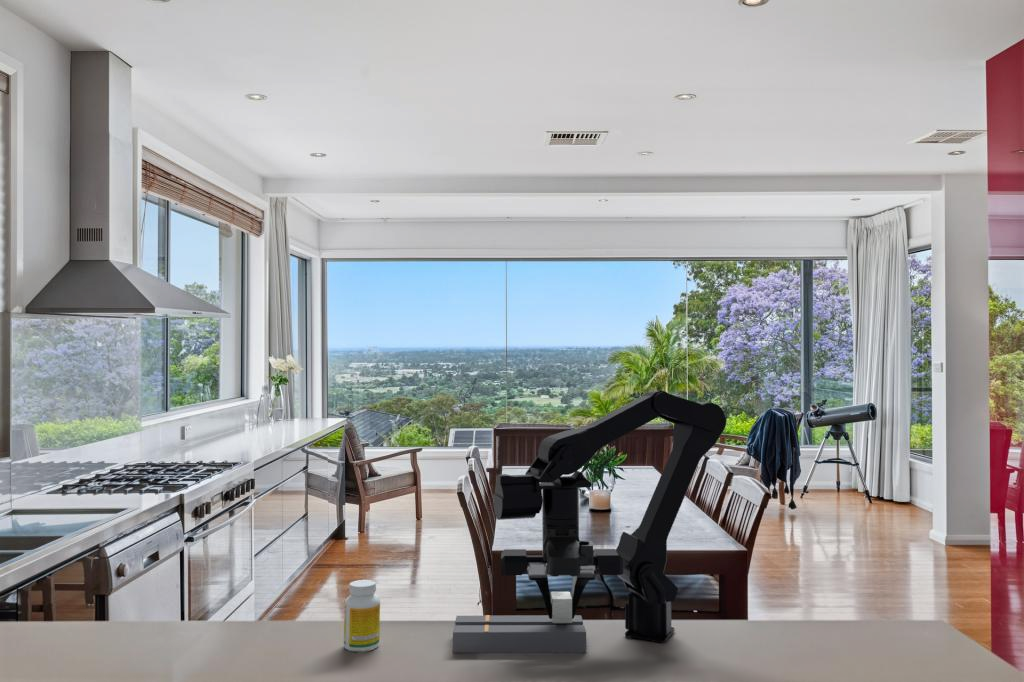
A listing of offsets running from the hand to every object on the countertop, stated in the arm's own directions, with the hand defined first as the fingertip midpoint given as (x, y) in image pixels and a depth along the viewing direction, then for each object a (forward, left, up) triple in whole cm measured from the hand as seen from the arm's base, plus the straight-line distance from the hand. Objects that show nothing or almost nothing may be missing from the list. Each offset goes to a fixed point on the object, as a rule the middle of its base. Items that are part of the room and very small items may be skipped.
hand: (561, 618), depth 116 cm
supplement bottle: (+27, +15, -4) cm, 31 cm away
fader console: (+6, +3, -4) cm, 8 cm away
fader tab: (0, 0, -2) cm, 2 cm away
